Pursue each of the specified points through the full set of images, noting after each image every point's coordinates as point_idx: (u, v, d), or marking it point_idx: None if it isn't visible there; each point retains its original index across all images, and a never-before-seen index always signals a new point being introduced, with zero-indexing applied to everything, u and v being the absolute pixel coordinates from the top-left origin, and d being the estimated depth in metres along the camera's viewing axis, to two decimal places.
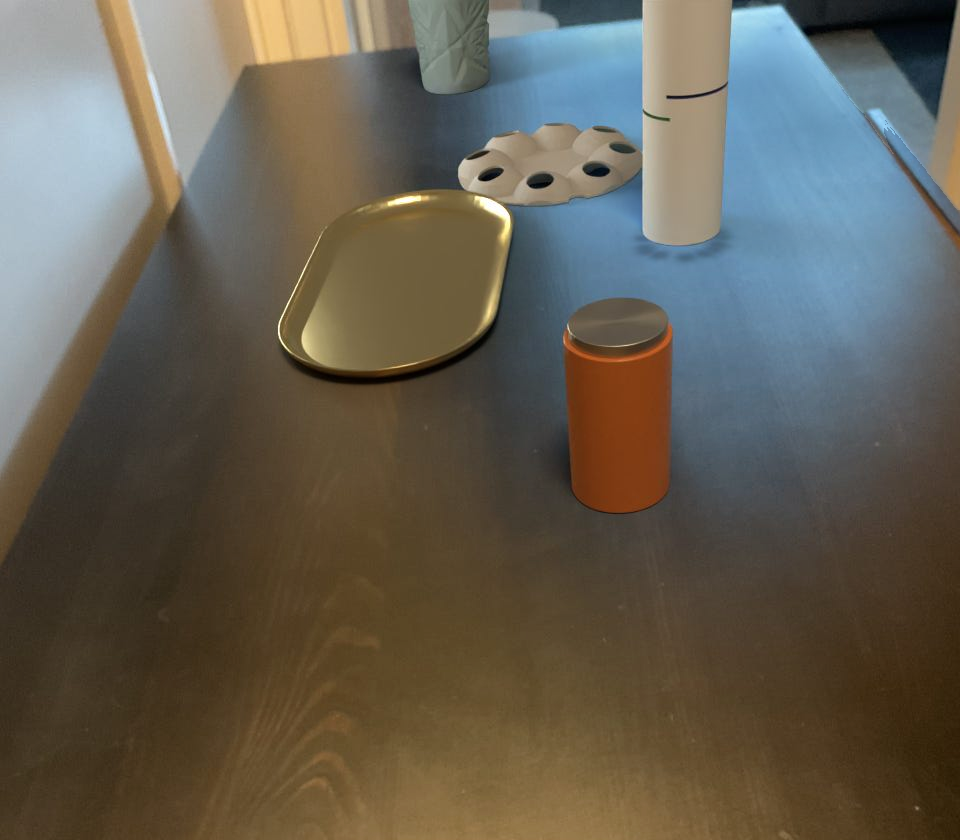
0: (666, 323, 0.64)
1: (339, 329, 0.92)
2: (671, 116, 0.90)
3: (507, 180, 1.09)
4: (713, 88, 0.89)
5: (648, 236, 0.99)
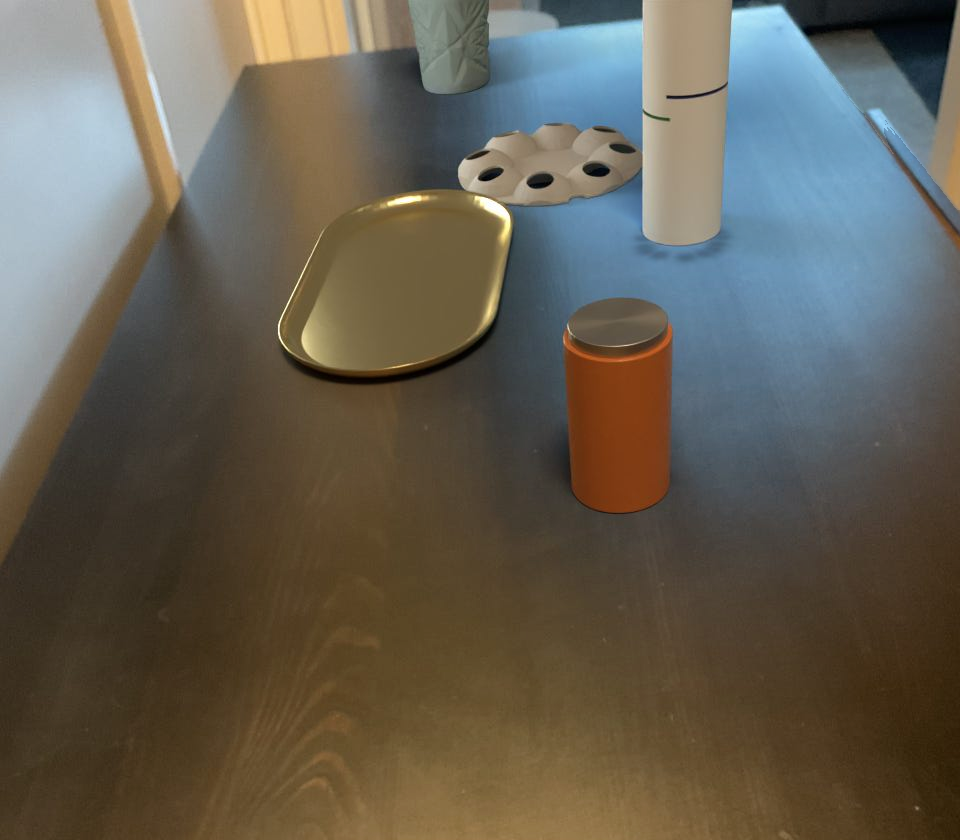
0: (666, 323, 0.64)
1: (339, 329, 0.92)
2: (671, 116, 0.90)
3: (507, 180, 1.09)
4: (713, 88, 0.89)
5: (648, 236, 0.99)
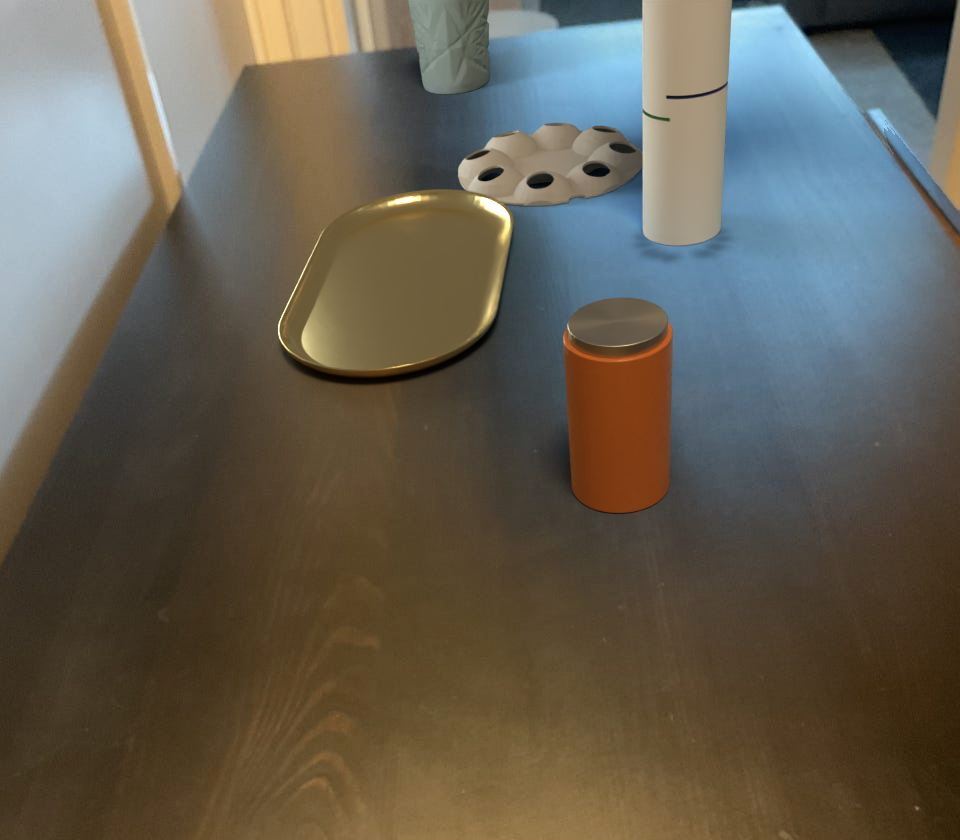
0: (666, 323, 0.64)
1: (339, 329, 0.92)
2: (671, 116, 0.90)
3: (507, 180, 1.09)
4: (713, 88, 0.89)
5: (648, 236, 0.99)
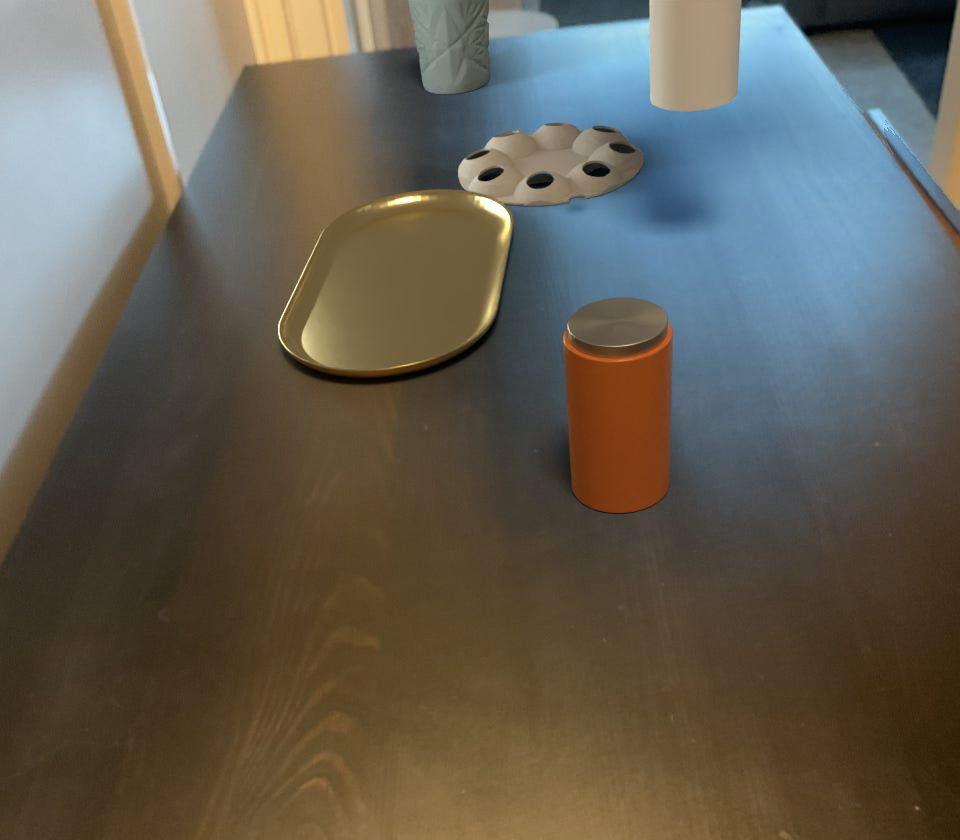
0: (666, 323, 0.64)
1: (339, 329, 0.92)
2: None
3: (507, 180, 1.09)
4: None
5: (656, 103, 0.89)
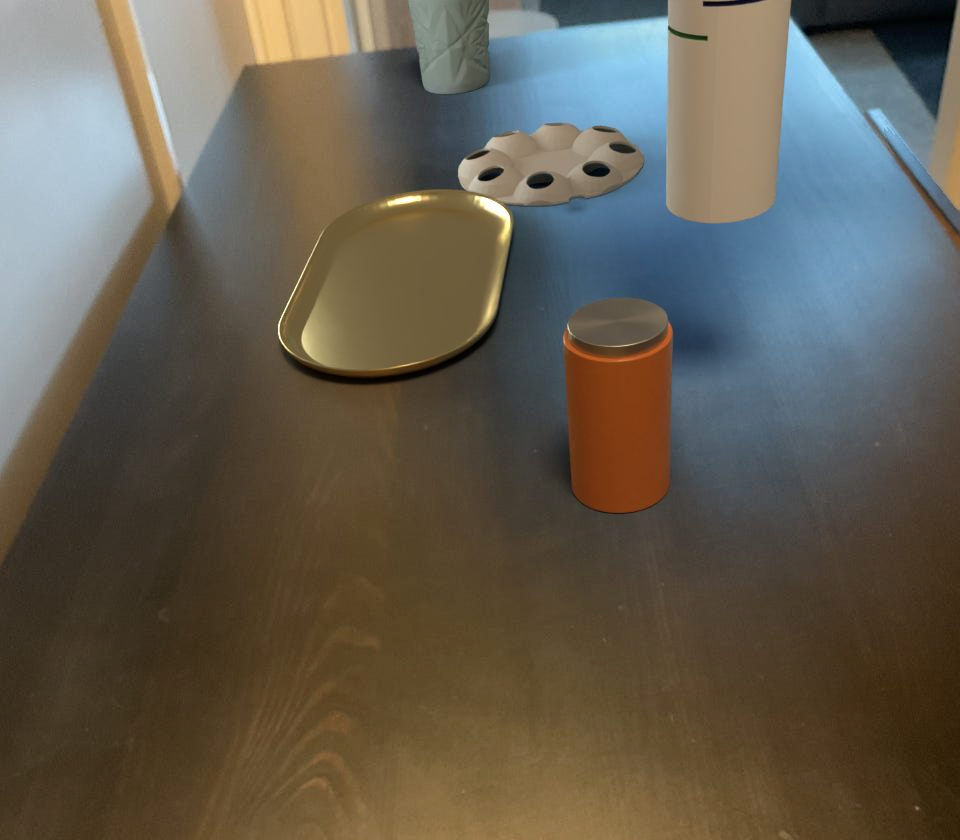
0: (666, 323, 0.64)
1: (339, 329, 0.92)
2: (709, 33, 0.62)
3: (507, 180, 1.09)
4: None
5: (674, 210, 0.71)
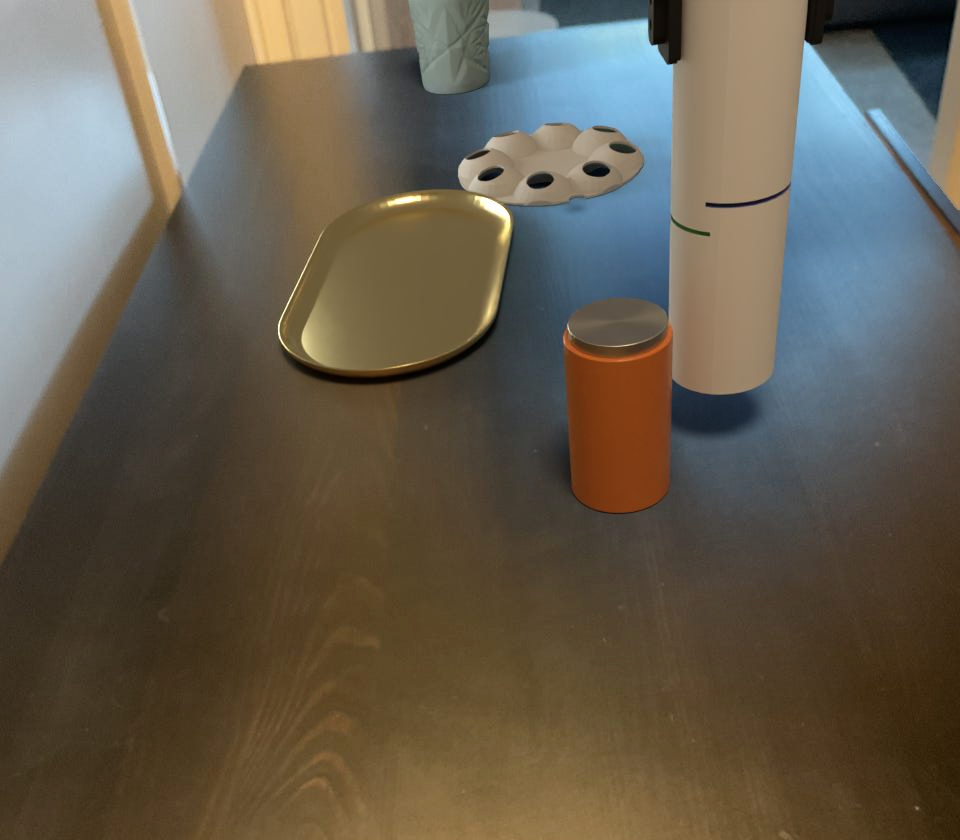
0: (666, 323, 0.64)
1: (339, 329, 0.92)
2: (712, 230, 0.64)
3: (507, 180, 1.09)
4: (772, 193, 0.63)
5: (676, 379, 0.73)
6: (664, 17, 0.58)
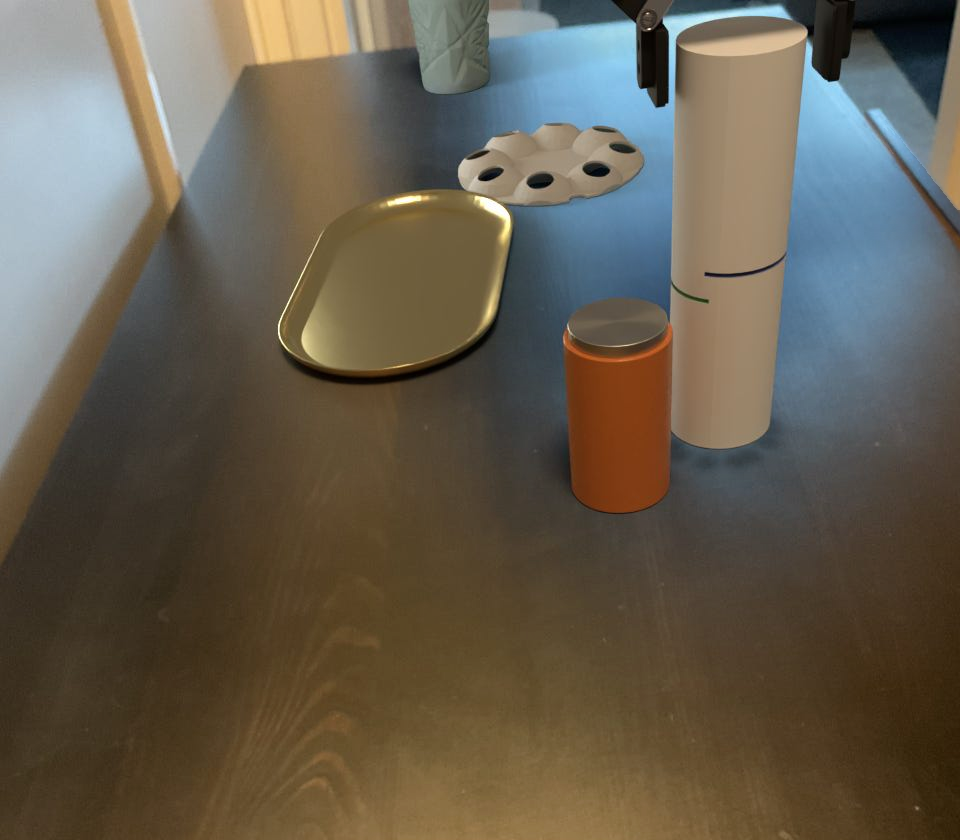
0: (666, 323, 0.64)
1: (339, 329, 0.92)
2: (710, 297, 0.67)
3: (507, 180, 1.09)
4: (768, 263, 0.66)
5: (676, 433, 0.76)
6: (652, 62, 0.60)
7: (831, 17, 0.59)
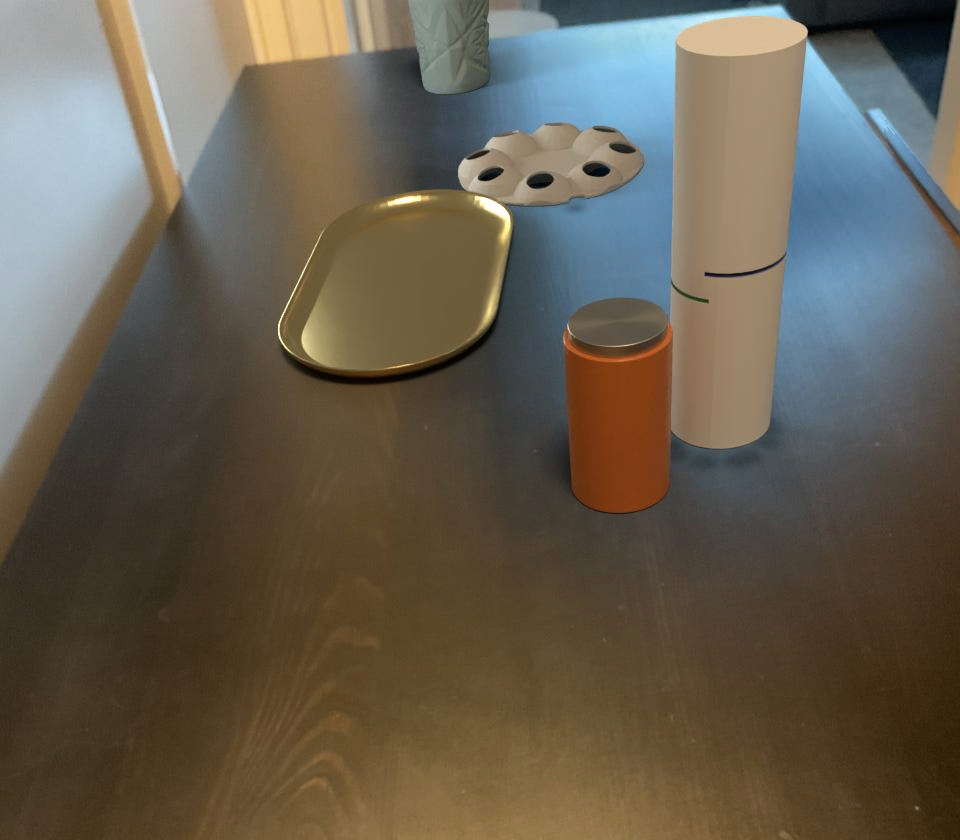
0: (666, 323, 0.64)
1: (339, 329, 0.92)
2: (710, 297, 0.67)
3: (507, 180, 1.09)
4: (768, 263, 0.66)
5: (676, 433, 0.76)
6: None
7: None
